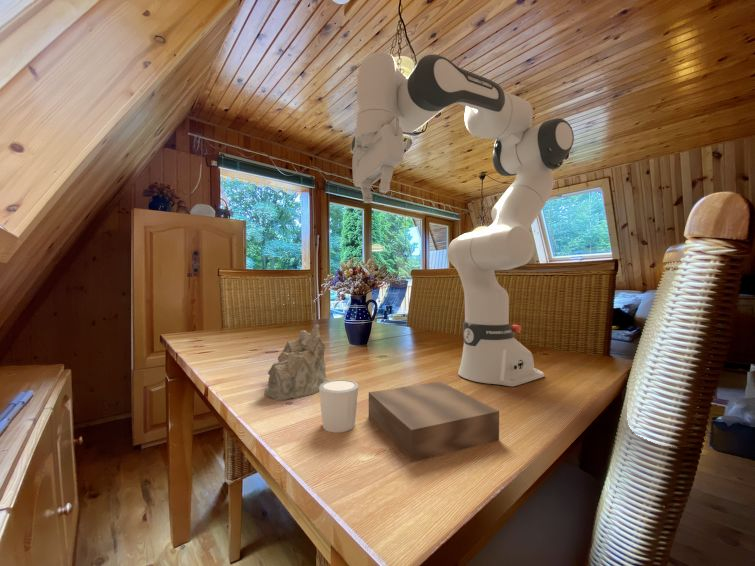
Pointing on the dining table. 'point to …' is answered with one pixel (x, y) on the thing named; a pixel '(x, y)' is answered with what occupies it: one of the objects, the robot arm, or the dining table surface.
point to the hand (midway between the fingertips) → (375, 197)
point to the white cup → (338, 404)
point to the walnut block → (432, 419)
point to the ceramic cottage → (298, 368)
